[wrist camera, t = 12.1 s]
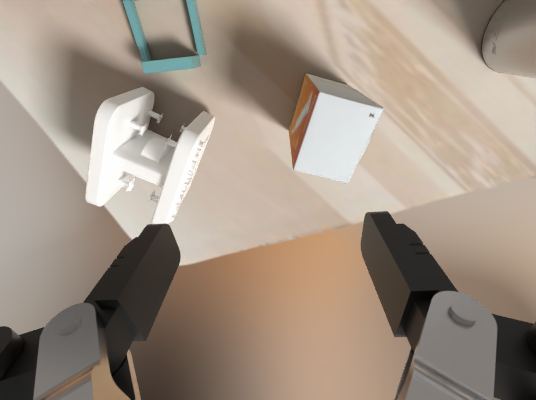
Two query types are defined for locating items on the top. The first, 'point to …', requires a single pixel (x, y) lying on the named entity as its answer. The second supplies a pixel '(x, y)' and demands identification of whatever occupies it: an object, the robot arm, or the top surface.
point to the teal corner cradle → (169, 63)
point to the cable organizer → (143, 152)
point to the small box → (331, 128)
